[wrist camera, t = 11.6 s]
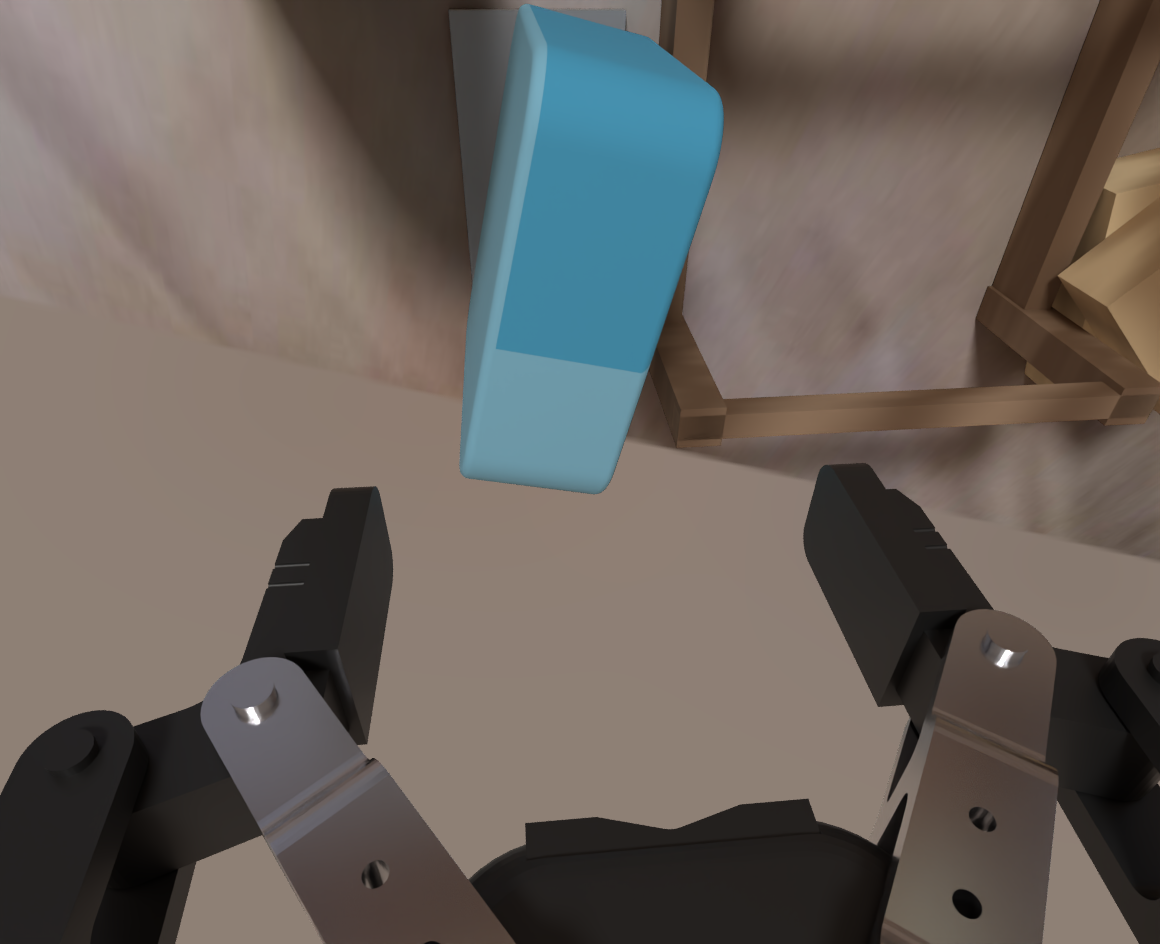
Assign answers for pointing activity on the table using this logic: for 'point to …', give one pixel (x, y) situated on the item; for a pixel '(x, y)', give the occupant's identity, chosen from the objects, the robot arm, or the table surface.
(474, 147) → the mat
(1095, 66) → the frame
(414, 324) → the table surface
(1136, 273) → the offcut upper
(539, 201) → the blue rounded block
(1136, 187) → the offcut lower
